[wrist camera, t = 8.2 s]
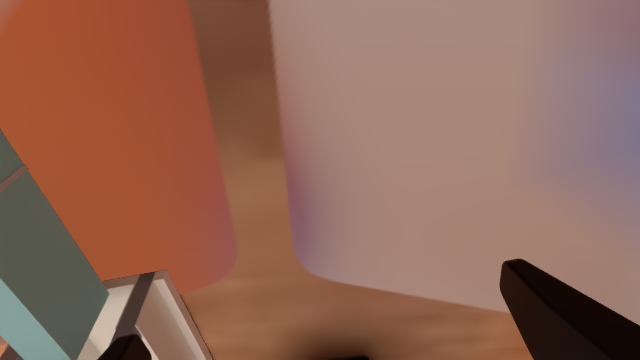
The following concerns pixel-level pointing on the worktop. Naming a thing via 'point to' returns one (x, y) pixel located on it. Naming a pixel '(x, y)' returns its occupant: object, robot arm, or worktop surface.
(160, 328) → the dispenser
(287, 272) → the worktop surface
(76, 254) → the teal square rod
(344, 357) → the worktop surface
